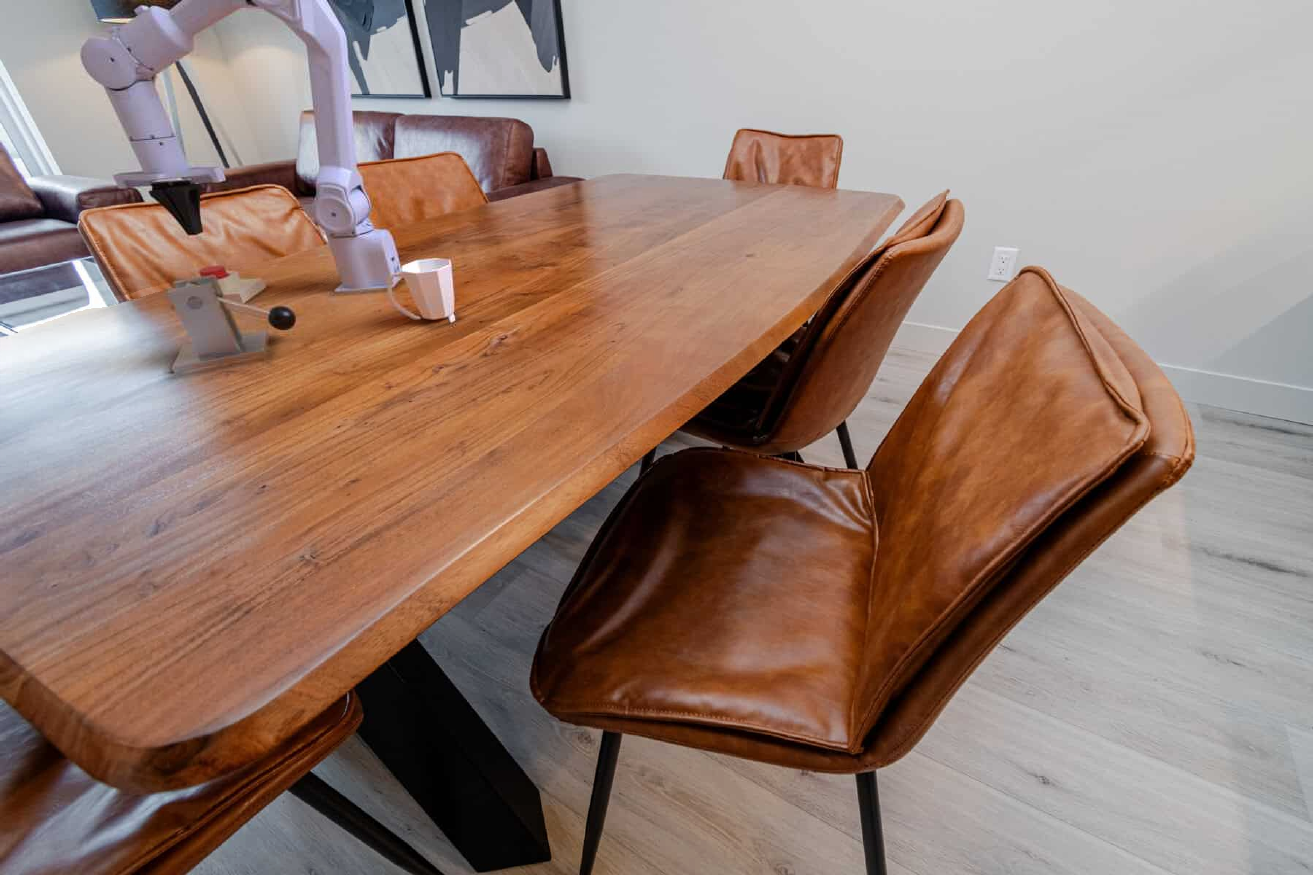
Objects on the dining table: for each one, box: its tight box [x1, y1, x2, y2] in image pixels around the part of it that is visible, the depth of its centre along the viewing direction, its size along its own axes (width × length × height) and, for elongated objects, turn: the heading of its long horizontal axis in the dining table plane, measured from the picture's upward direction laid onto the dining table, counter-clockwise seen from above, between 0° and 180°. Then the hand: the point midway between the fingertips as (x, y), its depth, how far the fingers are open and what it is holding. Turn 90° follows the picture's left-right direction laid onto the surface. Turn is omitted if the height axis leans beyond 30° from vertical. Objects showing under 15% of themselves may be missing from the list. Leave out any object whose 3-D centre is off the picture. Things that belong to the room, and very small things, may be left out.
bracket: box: [166, 275, 270, 374], centre depth 76 cm, size 10×8×10 cm
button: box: [198, 265, 228, 280], centre depth 98 cm, size 4×4×2 cm
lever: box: [185, 282, 297, 331], centre depth 77 cm, size 12×3×3 cm, turn 116°
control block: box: [198, 270, 266, 304], centre depth 99 cm, size 10×8×4 cm
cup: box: [386, 257, 456, 323], centre depth 84 cm, size 7×10×8 cm
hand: (195, 233), depth 94 cm, fingers closed
